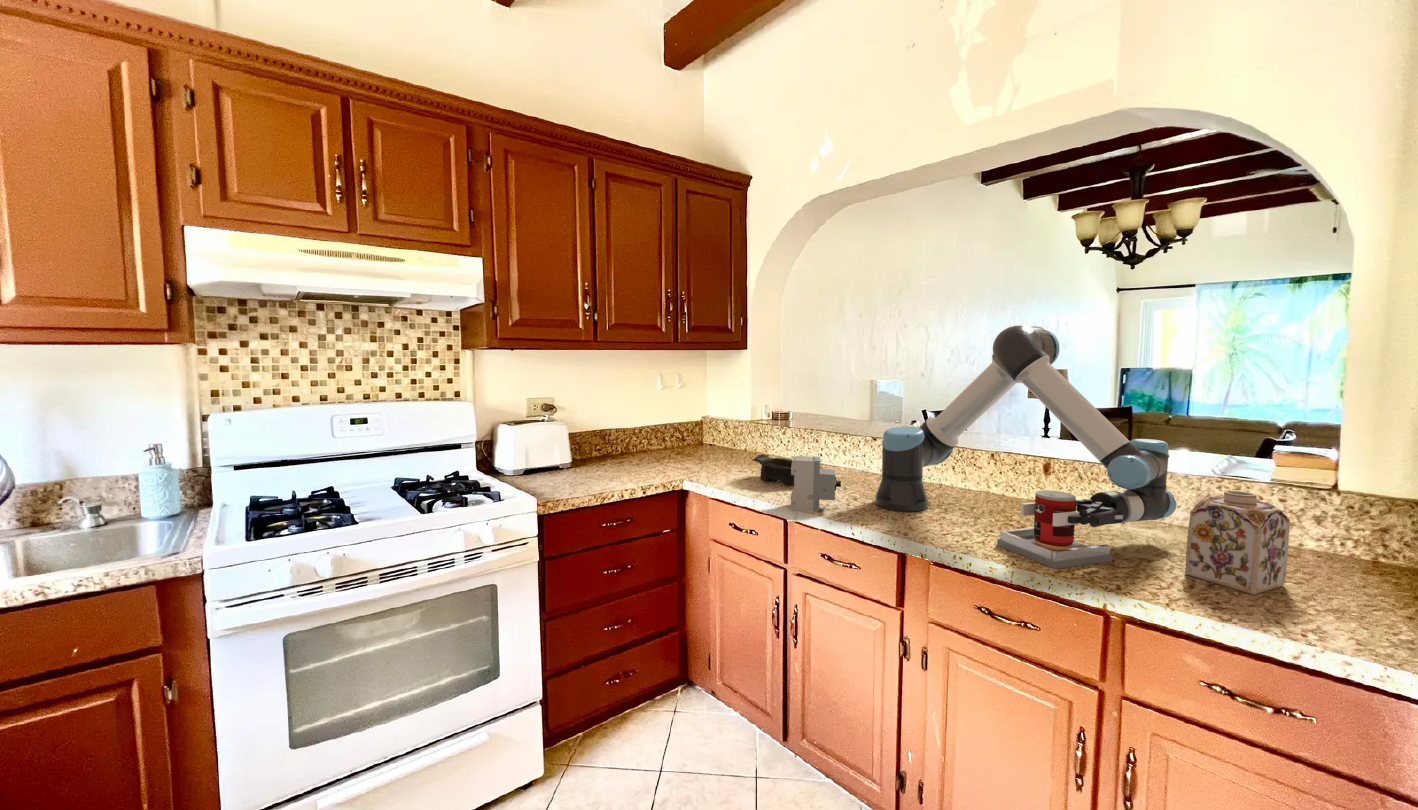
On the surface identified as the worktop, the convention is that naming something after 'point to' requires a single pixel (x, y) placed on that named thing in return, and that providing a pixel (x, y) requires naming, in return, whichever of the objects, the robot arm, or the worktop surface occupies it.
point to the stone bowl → (776, 469)
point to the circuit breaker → (811, 484)
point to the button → (1053, 546)
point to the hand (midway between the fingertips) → (1037, 514)
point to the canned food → (1043, 518)
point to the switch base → (1076, 556)
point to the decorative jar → (1238, 542)
